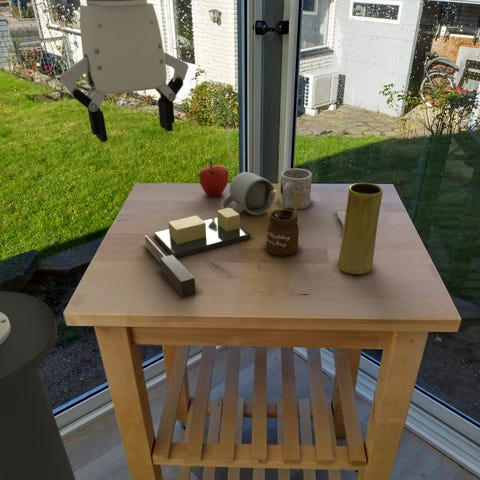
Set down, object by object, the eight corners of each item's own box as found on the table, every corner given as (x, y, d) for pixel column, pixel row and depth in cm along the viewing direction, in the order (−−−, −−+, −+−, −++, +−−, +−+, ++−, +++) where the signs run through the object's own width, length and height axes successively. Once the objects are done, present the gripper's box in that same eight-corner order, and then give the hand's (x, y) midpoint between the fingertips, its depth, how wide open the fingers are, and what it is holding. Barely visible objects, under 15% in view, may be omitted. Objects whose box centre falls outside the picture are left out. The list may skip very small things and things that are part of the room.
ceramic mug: (255, 198, 113) (255, 165, 108) (275, 211, 107) (275, 176, 102) (214, 208, 109) (212, 174, 104) (232, 222, 103) (231, 187, 98)
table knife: (153, 246, 95) (151, 231, 93) (195, 293, 81) (194, 278, 79) (141, 249, 94) (139, 234, 92) (182, 297, 80) (181, 281, 78)
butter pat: (226, 232, 97) (226, 217, 95) (217, 224, 100) (216, 210, 98) (240, 228, 98) (239, 214, 96) (230, 221, 101) (230, 207, 99)
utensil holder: (276, 239, 97) (279, 179, 90) (304, 247, 94) (309, 186, 87) (259, 251, 93) (260, 189, 86) (288, 260, 90) (292, 197, 83)
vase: (375, 275, 85) (389, 195, 76) (339, 274, 85) (349, 195, 77) (368, 257, 90) (381, 181, 81) (335, 257, 90) (343, 181, 81)
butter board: (174, 258, 91) (174, 253, 90) (154, 237, 98) (154, 232, 97) (250, 238, 97) (250, 233, 96) (226, 219, 104) (226, 215, 103)
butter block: (177, 244, 93) (176, 229, 91) (169, 236, 96) (168, 221, 94) (206, 237, 95) (205, 222, 94) (197, 229, 98) (196, 215, 96)
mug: (286, 195, 114) (288, 166, 110) (313, 200, 112) (316, 171, 108) (269, 211, 107) (269, 181, 103) (297, 216, 105) (299, 186, 101)
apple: (196, 191, 117) (193, 148, 111) (223, 187, 119) (221, 145, 113) (206, 203, 111) (203, 159, 105) (234, 198, 113) (233, 155, 107)
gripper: (170, -14, 66) (180, 119, 76) (37, -9, 60) (67, 136, 70) (193, -12, 61) (201, 131, 71) (50, -6, 54) (81, 151, 64)
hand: (135, 134), depth 70 cm, fingers open, 9 cm apart
